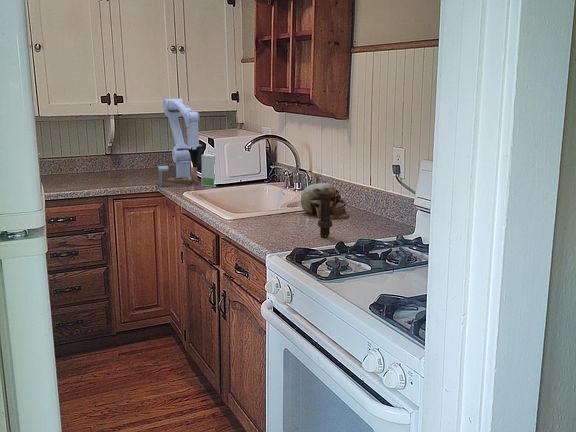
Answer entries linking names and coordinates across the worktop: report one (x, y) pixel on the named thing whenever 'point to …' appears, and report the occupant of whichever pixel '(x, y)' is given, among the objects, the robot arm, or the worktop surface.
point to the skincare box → (208, 170)
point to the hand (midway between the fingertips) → (194, 162)
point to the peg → (194, 175)
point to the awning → (160, 169)
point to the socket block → (175, 181)
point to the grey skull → (312, 201)
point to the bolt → (325, 212)
